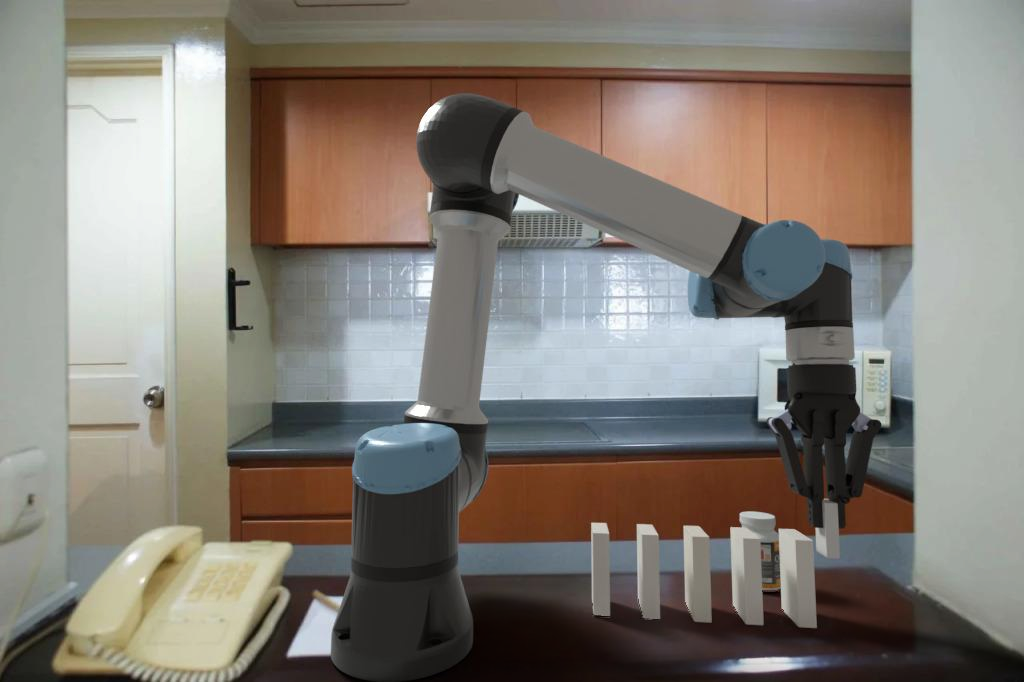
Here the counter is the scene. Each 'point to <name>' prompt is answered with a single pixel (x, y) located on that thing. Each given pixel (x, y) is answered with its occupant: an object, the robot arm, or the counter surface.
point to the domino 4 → (746, 575)
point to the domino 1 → (600, 569)
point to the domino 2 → (648, 571)
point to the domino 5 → (797, 577)
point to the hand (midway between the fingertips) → (827, 554)
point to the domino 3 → (697, 573)
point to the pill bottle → (765, 546)
